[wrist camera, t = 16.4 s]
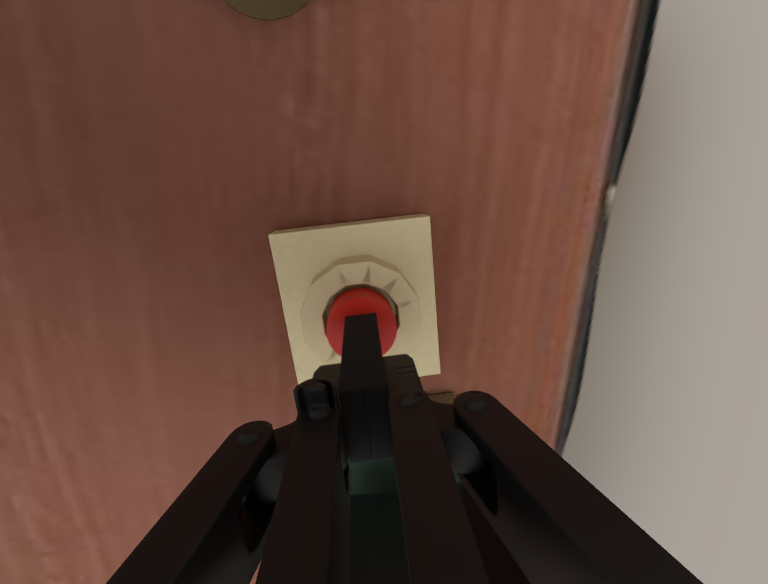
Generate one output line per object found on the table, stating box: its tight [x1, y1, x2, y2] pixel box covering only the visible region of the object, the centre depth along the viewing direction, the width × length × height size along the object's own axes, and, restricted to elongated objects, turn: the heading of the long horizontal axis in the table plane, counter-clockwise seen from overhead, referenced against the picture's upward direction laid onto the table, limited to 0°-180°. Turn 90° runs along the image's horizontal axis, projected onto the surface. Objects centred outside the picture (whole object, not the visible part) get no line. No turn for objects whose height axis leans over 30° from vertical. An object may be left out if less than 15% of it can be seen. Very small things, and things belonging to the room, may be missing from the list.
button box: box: [268, 213, 441, 385], centre depth 22 cm, size 10×9×4 cm
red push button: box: [326, 288, 397, 356], centre depth 20 cm, size 4×4×2 cm
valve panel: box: [348, 392, 462, 496], centre depth 27 cm, size 18×18×2 cm
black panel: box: [349, 484, 530, 584], centre depth 21 cm, size 14×2×9 cm, turn 93°
